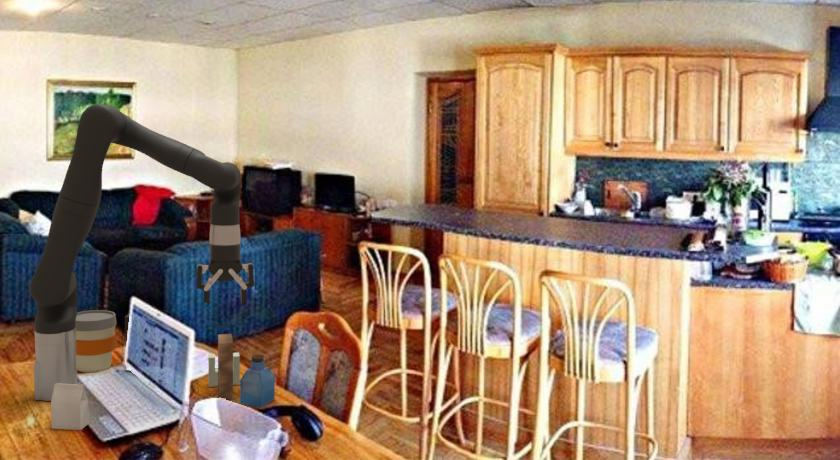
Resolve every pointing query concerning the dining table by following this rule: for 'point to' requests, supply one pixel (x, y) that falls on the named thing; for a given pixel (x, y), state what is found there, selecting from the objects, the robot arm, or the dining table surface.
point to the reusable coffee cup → (94, 339)
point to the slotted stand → (214, 371)
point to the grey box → (69, 407)
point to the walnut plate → (225, 366)
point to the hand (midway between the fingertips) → (225, 303)
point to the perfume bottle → (257, 383)
